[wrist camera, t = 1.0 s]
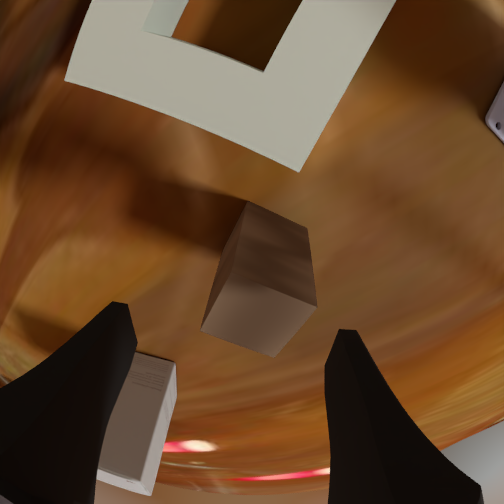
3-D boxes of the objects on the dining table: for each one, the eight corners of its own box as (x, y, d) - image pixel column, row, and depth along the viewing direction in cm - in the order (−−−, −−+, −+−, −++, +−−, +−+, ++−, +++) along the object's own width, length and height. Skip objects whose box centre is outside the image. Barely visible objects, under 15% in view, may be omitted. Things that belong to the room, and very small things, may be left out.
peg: (307, 228, 19) (317, 307, 13) (277, 274, 21) (274, 357, 15) (247, 200, 18) (231, 272, 12) (222, 251, 20) (199, 330, 15)
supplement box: (106, 341, 27) (56, 451, 17) (177, 361, 28) (143, 484, 17) (116, 380, 31) (81, 474, 21) (177, 397, 32) (152, 498, 21)
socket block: (391, -22, 10) (419, -42, 7) (294, 149, 16) (298, 172, 13) (188, -94, 8) (167, -123, 5) (104, 74, 14) (64, 80, 11)
